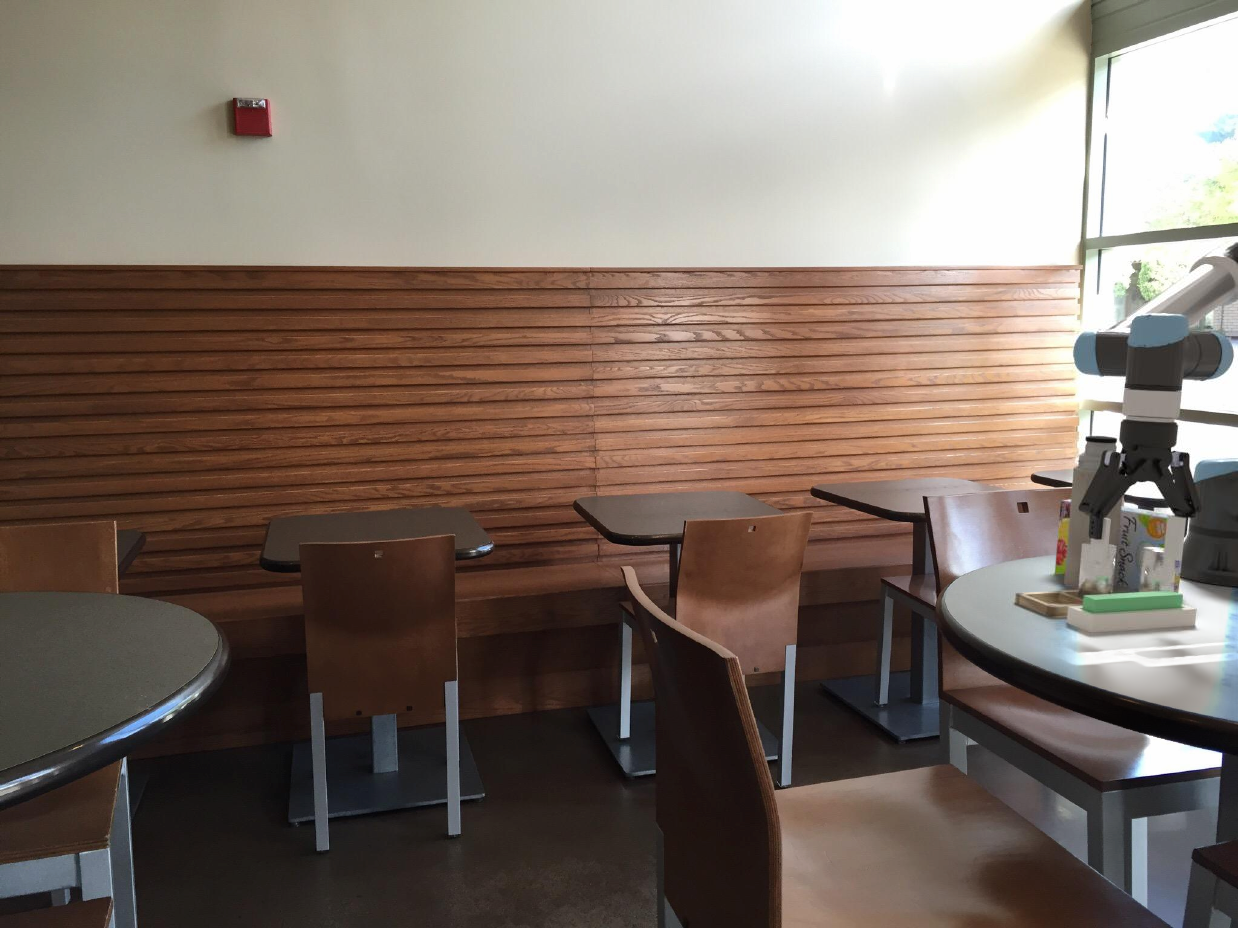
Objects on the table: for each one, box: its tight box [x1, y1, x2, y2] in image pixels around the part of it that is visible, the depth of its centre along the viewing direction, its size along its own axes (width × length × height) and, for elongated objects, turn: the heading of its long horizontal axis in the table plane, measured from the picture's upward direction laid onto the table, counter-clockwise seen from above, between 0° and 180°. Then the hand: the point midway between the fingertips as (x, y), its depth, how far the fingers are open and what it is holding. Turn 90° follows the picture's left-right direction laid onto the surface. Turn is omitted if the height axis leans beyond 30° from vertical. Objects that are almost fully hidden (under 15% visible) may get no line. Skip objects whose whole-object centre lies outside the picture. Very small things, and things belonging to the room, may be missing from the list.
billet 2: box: [1137, 547, 1177, 592], centre depth 156 cm, size 5×5×10 cm
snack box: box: [1054, 498, 1185, 593], centre depth 174 cm, size 21×6×15 cm, turn 29°
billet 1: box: [1078, 542, 1117, 599], centre depth 157 cm, size 5×5×10 cm
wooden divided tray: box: [1012, 589, 1083, 619], centre depth 157 cm, size 16×10×3 cm, turn 105°
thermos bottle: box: [1063, 435, 1124, 592], centre depth 169 cm, size 8×8×28 cm
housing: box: [1066, 603, 1197, 633], centre depth 147 cm, size 19×5×4 cm, turn 105°
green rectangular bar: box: [1082, 591, 1184, 613], centre depth 147 cm, size 16×2×4 cm, turn 105°
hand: (1135, 559), depth 146 cm, fingers open, 13 cm apart
